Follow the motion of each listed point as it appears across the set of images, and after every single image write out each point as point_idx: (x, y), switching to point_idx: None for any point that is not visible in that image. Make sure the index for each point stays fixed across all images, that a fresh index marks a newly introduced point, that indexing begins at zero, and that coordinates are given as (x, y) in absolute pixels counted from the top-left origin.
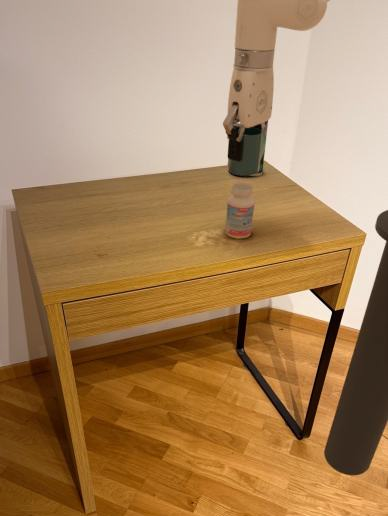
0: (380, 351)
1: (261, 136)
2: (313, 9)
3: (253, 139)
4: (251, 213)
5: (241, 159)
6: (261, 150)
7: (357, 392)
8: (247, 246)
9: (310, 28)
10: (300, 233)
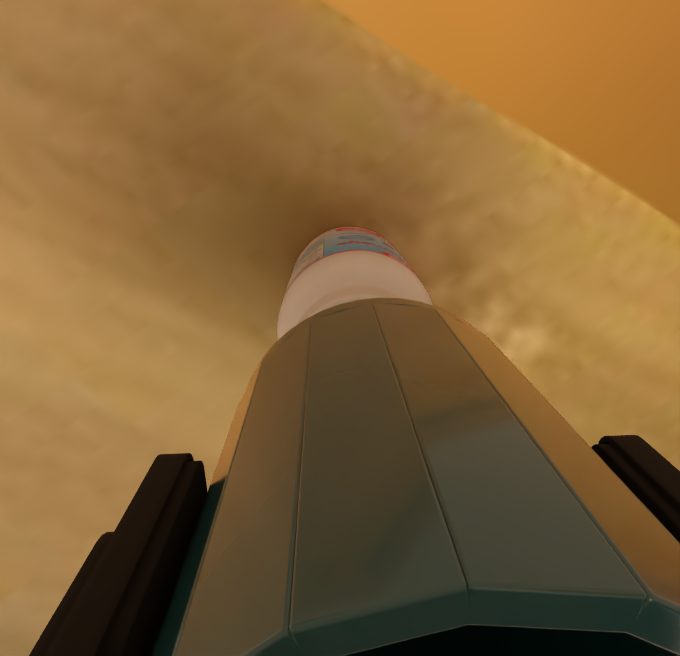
0: None
1: (437, 535)
2: None
3: (661, 554)
4: (353, 242)
5: (619, 439)
6: (162, 459)
7: None
8: (422, 178)
9: None
10: (124, 51)
